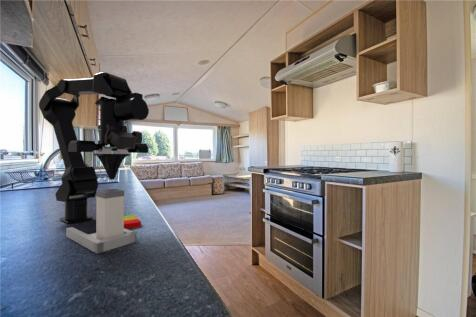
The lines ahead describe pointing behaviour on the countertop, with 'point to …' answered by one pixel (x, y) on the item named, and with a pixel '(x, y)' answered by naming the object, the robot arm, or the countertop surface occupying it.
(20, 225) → the countertop surface
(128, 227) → the popsicle
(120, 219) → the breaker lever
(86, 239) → the frame
